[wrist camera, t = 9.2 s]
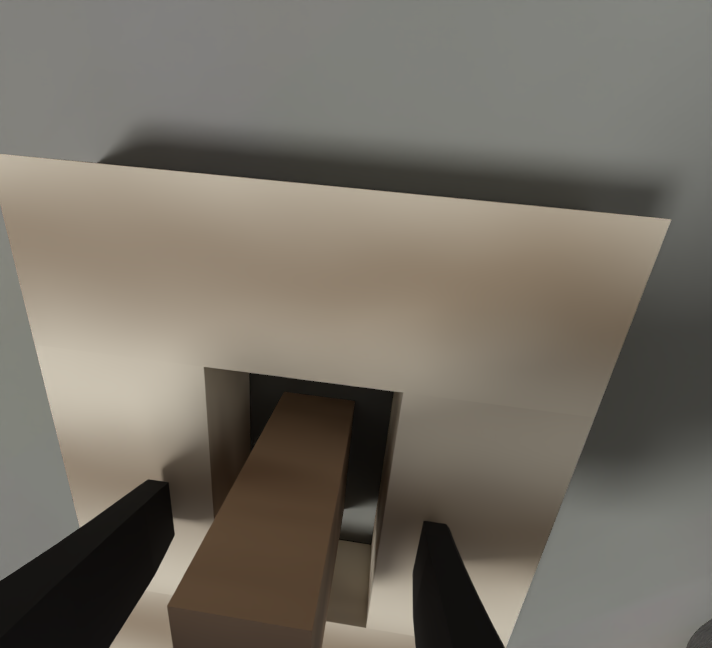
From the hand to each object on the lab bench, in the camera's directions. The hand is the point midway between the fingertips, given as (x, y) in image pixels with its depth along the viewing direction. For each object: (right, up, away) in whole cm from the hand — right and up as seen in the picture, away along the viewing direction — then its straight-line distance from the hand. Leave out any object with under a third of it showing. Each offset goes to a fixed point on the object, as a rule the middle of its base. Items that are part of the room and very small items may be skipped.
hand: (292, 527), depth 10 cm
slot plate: (0, +1, +3) cm, 3 cm away
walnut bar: (0, +1, +3) cm, 4 cm away
